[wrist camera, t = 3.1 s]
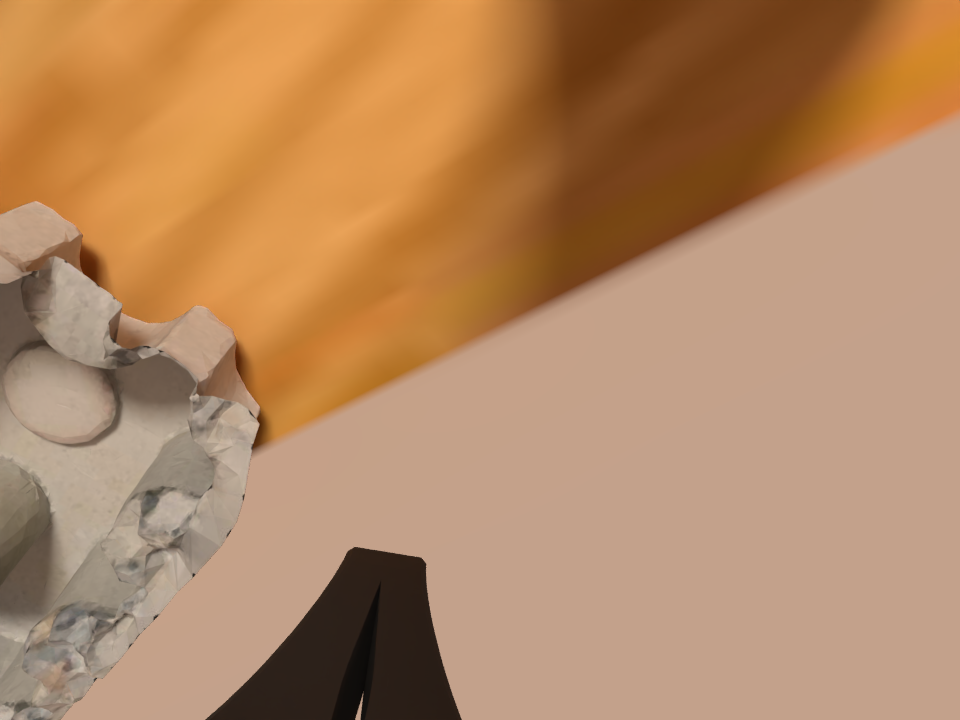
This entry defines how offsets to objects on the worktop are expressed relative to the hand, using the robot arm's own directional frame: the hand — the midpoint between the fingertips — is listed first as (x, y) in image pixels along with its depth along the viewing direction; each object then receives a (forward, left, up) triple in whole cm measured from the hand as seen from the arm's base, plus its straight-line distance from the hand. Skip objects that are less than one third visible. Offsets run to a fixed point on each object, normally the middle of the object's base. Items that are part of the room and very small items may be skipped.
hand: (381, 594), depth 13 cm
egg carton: (0, +10, -4) cm, 11 cm away
